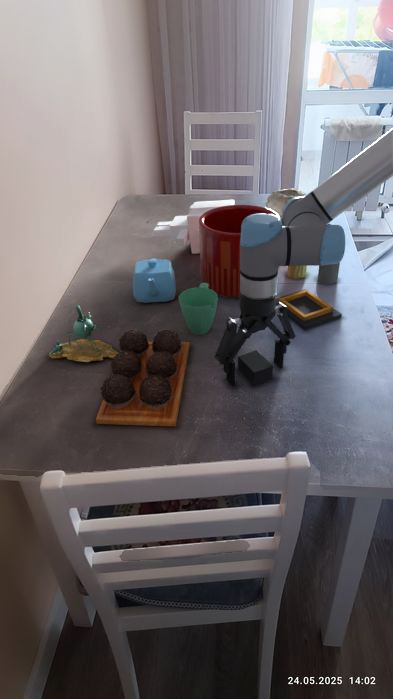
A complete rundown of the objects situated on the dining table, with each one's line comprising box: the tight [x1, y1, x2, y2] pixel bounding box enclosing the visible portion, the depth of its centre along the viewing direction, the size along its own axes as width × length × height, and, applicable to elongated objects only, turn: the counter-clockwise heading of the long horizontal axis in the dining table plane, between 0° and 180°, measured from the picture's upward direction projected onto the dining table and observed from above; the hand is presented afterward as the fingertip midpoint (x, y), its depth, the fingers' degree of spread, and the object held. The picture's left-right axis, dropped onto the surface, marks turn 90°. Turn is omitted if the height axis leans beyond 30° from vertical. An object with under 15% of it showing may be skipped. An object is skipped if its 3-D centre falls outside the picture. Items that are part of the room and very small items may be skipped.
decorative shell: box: [264, 187, 307, 221], centre depth 186 cm, size 18×18×10 cm
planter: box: [199, 204, 280, 299], centre depth 142 cm, size 23×23×20 cm
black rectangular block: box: [237, 349, 274, 387], centre depth 110 cm, size 7×5×4 cm
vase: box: [286, 266, 307, 280], centre depth 146 cm, size 6×6×14 cm
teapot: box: [132, 257, 177, 304], centre depth 138 cm, size 12×18×12 cm
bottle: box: [317, 261, 341, 285], centre depth 142 cm, size 6×6×15 cm
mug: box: [178, 282, 219, 336], centre depth 126 cm, size 15×10×10 cm
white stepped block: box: [153, 199, 235, 255], centre depth 167 cm, size 15×25×28 cm
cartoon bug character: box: [48, 305, 120, 363], centre depth 117 cm, size 10×18×15 cm, turn 80°
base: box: [276, 288, 343, 331], centre depth 132 cm, size 16×12×2 cm
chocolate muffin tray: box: [95, 328, 191, 428], centre depth 108 cm, size 28×17×8 cm, turn 175°
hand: (254, 373), depth 111 cm, fingers open, 12 cm apart
